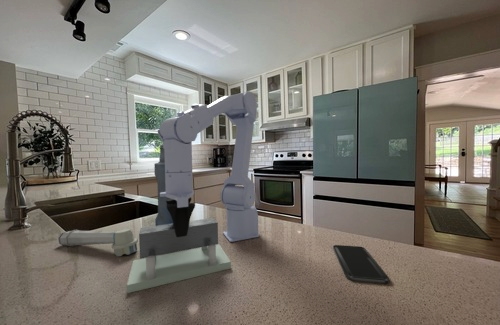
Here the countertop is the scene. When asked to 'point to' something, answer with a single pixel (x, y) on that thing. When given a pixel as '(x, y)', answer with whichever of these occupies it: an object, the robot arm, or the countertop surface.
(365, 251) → the phone
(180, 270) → the peg rack
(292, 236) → the countertop surface
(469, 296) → the countertop surface
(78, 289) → the countertop surface
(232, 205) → the robot arm
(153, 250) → the steel bar
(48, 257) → the countertop surface
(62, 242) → the pale grey handled tool
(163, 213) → the bottle
